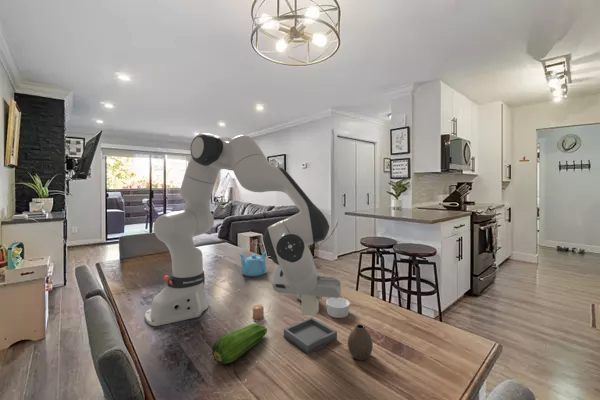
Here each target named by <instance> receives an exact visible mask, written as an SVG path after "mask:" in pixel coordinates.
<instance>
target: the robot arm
mask: <svg viewBox="0 0 600 400" xmlns="http://www.w3.org/2000/svg"><path fill="white" fill-rule="evenodd" d="M189 152H190V155H191V158H190V160H189V161H188V164H187V166H186V169H185V173H184V175H183V180H182V182H181V187H180V188H179V194H180V196H181V198H182V199H183V200H184V203H185V204H184V207H183V209H182V210H175V211H169V212H167V213H164V214H162V215H160V216H158V217H156V219H155V220H154V222H153V233H154V235H155V237H156V238H157V239H158V240H159V241H160V242H162V243H164V245H165V246H166V247H167V249H168V251H169V254H170V257H171V269H172V274H171V275H170V276H169V275H166V274H165V275H164V277H163V278H162V279H163V280H164V281H165V282H166V284H167V286H165V287H164V288H163V289H162V290H161V291H160V292H159V293H157V294H156V295H155V296H154V297H153V299H152V302H151V307H150V308H149V309H148V310H146V311H145V313H144V320H145V321H146V323H147V324H148V325H150V326H154V327H159V326H163V325H167V324H172V323H177V322H181V321H185V320H189V319H194V318H199V317H200V316H201V315H202V313H203V312H204V311H206V310H207V309H208V307H209V302H208V300H207V295H206V290H205V284H206V283H205V282H206V281H205V280H206V279H205V278H206V277H205V275H206V274H205V271H204V261H203V252H202V250H201V249H199V248H197V247H196V246H195V244H194V240H193V237H197V236H200V235H203V234H206V233H207V232H208V231H209V232H210V230H211V229H212V228H213V227H214V223H215V217H214V214H213V213H212V211H211V210H210V209H211V208H210V207H211V205H210V204H211V203H210V202H211V197H212V194H213V190H214V188H215V184H216V182H217V178H218V174H219V172H220V171H221V170H227V171H232V172H233V174H234V176H235V178H236V180H237V181H238V183H239V184H240V186H241V187H242V188H243V189H245V190H247V191H249V192H253V193H265V192H282V193H284V194H285V195H287V196H288V197H289V199H290V200H291V202H292V203H293V204H294V205H295V206H296V208H297V209H298V210H299V212H297V213H295V214H293V215H291V216H289V217H286V218H284V219H282V220H279V221H277V222H276V223H273V224H271V225H269V226H267V228H266V229H265V231H264V234H263V237H262V238H263V244H264V247H265V248H266V250H267V251H266V252H267V253H268V254H269V256H270V258H271V260H272V262H273V263H274V264H276V265H275V267H274V270H273V275H272V278H271V279H272V280H271V286H272V289H273V290H274V292H276V293H280V294H281V293H282V294H290V295H291V294H292V295H295V296H296V295H297V296H298V297H300V298H301V295H310V296H316V298H317V299H319V301H320V300H322V299H323V298H341V294H342V285H341V281H340V279H338V278H337V277H336V276H333V275H322V274H321V275H320V274H319V272H318V269H317V266H316V264H315V262H314V257H313V254H312V252H311V249H310V248H309V246H311V245H313V244H316V243H319V242H322V241H324V240H325V239H326V237H327V236H328V233H329V230H330V224H329V221H328V218H327V217H326V216H325V214H324V213H323V211H321V209H320V208H319V207H317V206H316V205H315V204H314V203H313V202H312V200H311V199H310V198H309V196H308V195H307V194H306V193H305V192H304V190H302V188H301V187H300V185H298V183H297V182H296V181H295V179H294V178H293V177H292V175H290V174H289V173H288V171H286V169H284V168H283V167H278V166H275V165H274V164H272V163H270V161H268V159H267V157H266V155H265V154H264V152H263V150H262V149H261V147H260V146H259V145H258V143H257V142H256V141H255V139H253V138H252V137H251V136H250V135H246V134H239V135H236V136H235V137H233V138H231V137H227V136H221V135H216V134H212V133H206V132H203V133H198V134H197V135H196V136H195V137H194V138H193V139H192V141H191V144H190V151H189Z"/></svg>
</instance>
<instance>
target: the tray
mask: <svg viewBox="0 0 600 400" xmlns="http://www.w3.org/2000/svg"><path fill="white" fill-rule="evenodd" d="M283 337H284V338H285V339H286V340H288V341H289V342H291V343H292V344H293V345H294V346H295V347H297V348H299V350H301V351H303V352H304V353H306V354H307V355H309V354H311V353H314V352H315V351H317V350H319V349H321V348H322V347H325V346H326V345H329V344H331V343H333V342H334V341H336V340H338V331H336V330H334V328H331V327H330V326H328V325H327V324H324V323H323V322H321V321H319V320H317V319H315V318H314V317H313V316H312V317H311V316H310V318H307V319H305V320H301V321H300V322H297V323H295V324H293V325H290V326H287V327H286V328H283Z"/></svg>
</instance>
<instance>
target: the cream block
mask: <svg viewBox="0 0 600 400" xmlns="http://www.w3.org/2000/svg"><path fill="white" fill-rule="evenodd" d="M319 301H320V299H317V298H316V296H310V295H301V301H300V302H301V303H300V304H301V315H303V316H309V317H311V316H312V317H316V316H317V314H318V312H319V310H320V309H319V308H320V302H319Z"/></svg>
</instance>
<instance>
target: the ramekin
mask: <svg viewBox="0 0 600 400" xmlns="http://www.w3.org/2000/svg"><path fill="white" fill-rule="evenodd" d="M325 303H326V304H325V305H326V313H327V314H328V316H330V317H332V318H336V319H340V318H341V319H343V318H346V317H348V316H349V312H350V311H349V310H350V305H351V302H350V301H349V300H348V299H345V298H344V297H339V298H331V297H329V298H327V299H326V301H325Z"/></svg>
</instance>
